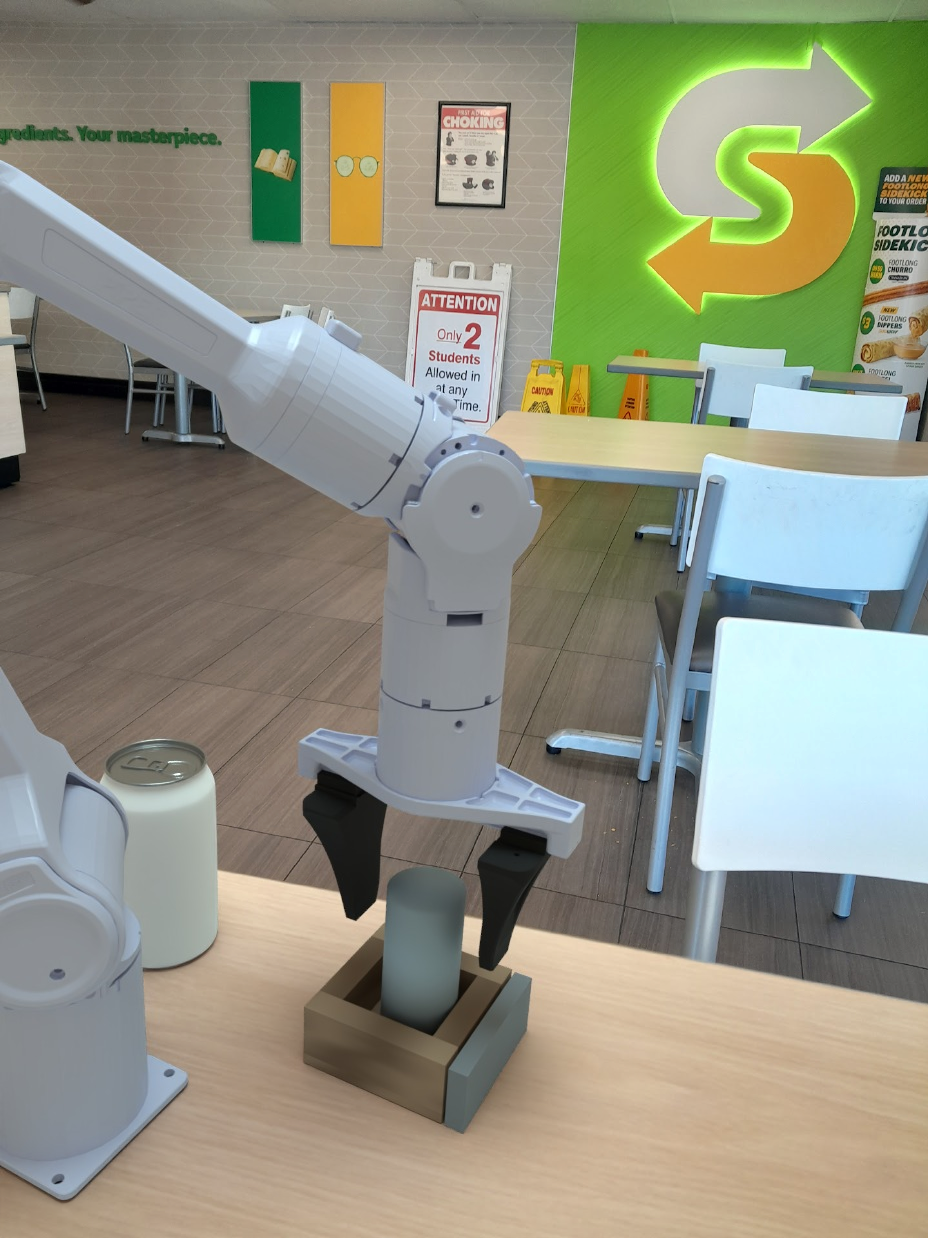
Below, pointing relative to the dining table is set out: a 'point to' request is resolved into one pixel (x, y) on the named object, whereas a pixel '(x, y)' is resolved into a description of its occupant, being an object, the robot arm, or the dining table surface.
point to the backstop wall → (487, 1053)
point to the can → (168, 846)
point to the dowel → (422, 947)
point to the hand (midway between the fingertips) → (425, 933)
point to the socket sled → (393, 1031)
